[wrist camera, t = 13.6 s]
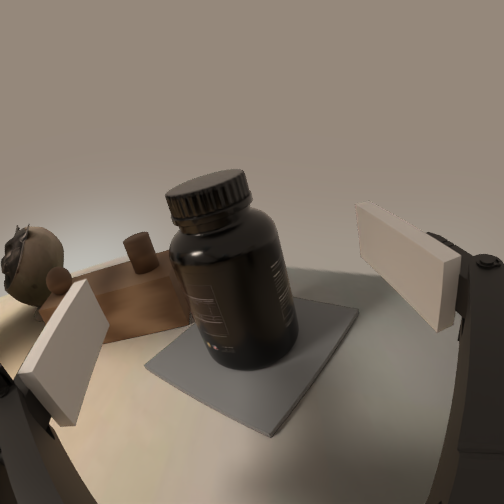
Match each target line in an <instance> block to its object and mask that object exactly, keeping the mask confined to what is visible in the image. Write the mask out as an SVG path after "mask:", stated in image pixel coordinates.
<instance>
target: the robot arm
mask: <svg viewBox="0 0 504 504" xmlns="http://www.w3.org/2000/svg"><path fill="white" fill-rule="evenodd" d="M355 208H356V217H357V225H358V235H359V244H360V255H361V257H362V258H363V259H364V260H365V261H366V262H367V263H368V264H369V265H370V266H371V267H372V268H373V269H375V271H376V272H377V273H378V274H379V275H380V276H381V277H383V278H384V279H385V280H386V281H387V282H388V283H389V284H390V285H391V286H392V287H393V288H394V289H395V290H396V291H397V292H398V293H399V294H400V295H401V296H402V297H403V298H404V299H405V300H406V301H407V302H408V303H409V304H410V305H411V306H412V307H413V308H414V309H415V310H416V311H417V312H418V313H419V314H420V316H421V317H422V318H423V319H424V320H425V321H426V322H427V323H428V324H429V325H430V326H431V327H432V328H433V329H434V330H435V331H436V332H437V333H438V332H440V331H442V330H444V329H446V328H448V327H450V326H452V325H453V324H454V317H455V311H457V312H458V313H459V314H460V315H461V316H462V320H461V325H460V331H459V336H458V341H459V353H458V363H457V371H456V379H455V386H454V393H453V399H452V405H451V411H450V416H449V422H448V426H447V431H446V436H445V440H444V444H443V449H442V453H441V457H440V460H439V464H438V468H437V471H436V475H435V478H434V481H433V485H432V488H431V491H430V494H429V497H428V499H427V501H426V504H504V264H503V262H502V261H501V260H500V259H499V258H497V257H495V256H492V255H488V254H479V255H476V256H472V255H471V254H469V253H467V252H466V251H464V250H463V249H461V248H459V247H458V246H456V245H454V244H453V243H451V242H450V241H447V240H446V239H445V238H443V237H441V236H440V235H436V234H433V233H430V232H427V233H425V232H423V231H421V230H419V229H418V228H416V227H415V226H413V225H411V224H410V223H408V222H406V221H404V220H403V219H401V218H399V217H398V216H396V215H394V214H392V213H391V212H389V211H387V210H385V209H383V208H382V207H380V206H378V205H376V204H374V203H373V202H371V201H365V202H361V203H358V204H355ZM108 328H109V323H108V321H107V319H106V317H105V315H104V313H103V311H102V309H101V307H100V305H99V303H98V301H97V299H96V297H95V295H94V293H93V291H92V289H91V287H90V285H89V283H88V281H87V279H84V280H81V281H78V282H74V283H73V285H72V286H71V288H70V289H69V291H68V292H67V294H66V295H65V297H64V298H63V300H62V301H61V303H60V304H59V306H58V307H57V309H56V310H55V312H54V313H53V315H52V316H51V318H50V320H49V321H48V323H47V324H46V326H45V327H44V329H43V331H42V332H41V334H40V336H39V337H38V339H37V341H36V342H35V344H34V345H33V346H32V348H31V350H30V351H29V353H28V356H26V358H25V360H24V363H22V365H21V367H20V369H19V371H18V372H17V374H16V376H15V378H14V380H12V378H11V377H10V376H9V374H8V373H7V372H6V370H5V369H4V367H3V366H2V365H1V363H0V504H97V502H96V501H95V499H94V498H93V496H92V495H91V493H90V492H89V490H88V488H87V487H86V485H85V484H84V482H83V481H82V479H81V477H80V476H79V474H78V472H77V471H76V469H75V467H74V466H73V464H72V462H71V460H70V459H69V457H68V455H67V453H66V451H65V449H64V448H63V446H62V444H61V442H60V440H59V438H58V436H57V434H56V432H55V430H54V429H53V428H52V427H51V426H50V425H49V422H50V419H51V417H52V418H53V419H54V420H55V421H56V422H57V423H58V424H59V426H60V427H63V426H76V422H77V419H78V416H79V412H80V409H81V406H82V403H83V399H84V396H85V393H86V390H87V387H88V384H89V381H90V378H91V375H92V372H93V369H94V366H95V363H96V361H97V358H98V355H99V352H100V349H101V347H102V344H103V341H104V339H105V336H106V333H107V331H108Z"/></svg>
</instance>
